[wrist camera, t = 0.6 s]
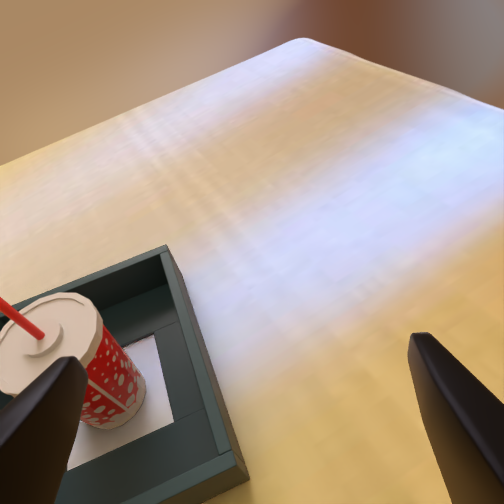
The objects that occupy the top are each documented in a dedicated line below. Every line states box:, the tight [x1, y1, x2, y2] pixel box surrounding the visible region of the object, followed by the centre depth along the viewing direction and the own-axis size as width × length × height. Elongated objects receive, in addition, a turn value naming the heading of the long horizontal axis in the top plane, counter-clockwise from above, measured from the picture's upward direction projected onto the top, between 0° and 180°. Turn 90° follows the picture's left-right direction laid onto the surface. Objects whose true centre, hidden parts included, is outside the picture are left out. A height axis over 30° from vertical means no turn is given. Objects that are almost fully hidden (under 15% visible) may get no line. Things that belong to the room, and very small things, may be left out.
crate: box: [0, 245, 250, 504], centre depth 25 cm, size 18×15×4 cm
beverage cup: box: [0, 292, 146, 429], centre depth 22 cm, size 6×6×14 cm
